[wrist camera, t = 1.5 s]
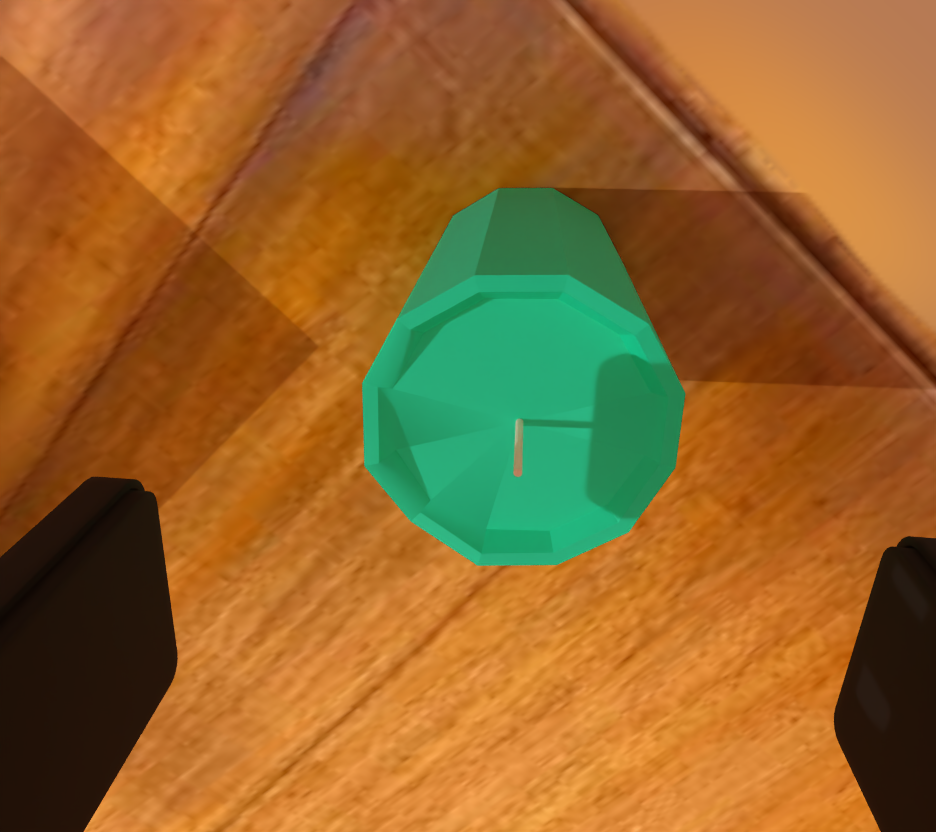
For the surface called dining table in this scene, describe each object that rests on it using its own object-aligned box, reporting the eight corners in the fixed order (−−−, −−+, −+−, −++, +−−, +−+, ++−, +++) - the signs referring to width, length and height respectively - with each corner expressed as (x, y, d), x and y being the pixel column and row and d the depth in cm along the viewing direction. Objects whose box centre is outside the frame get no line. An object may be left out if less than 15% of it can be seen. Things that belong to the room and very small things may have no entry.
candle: (526, 138, 22) (521, 205, 11) (665, 287, 23) (785, 479, 12) (386, 285, 24) (263, 466, 13) (521, 413, 25) (514, 675, 14)
